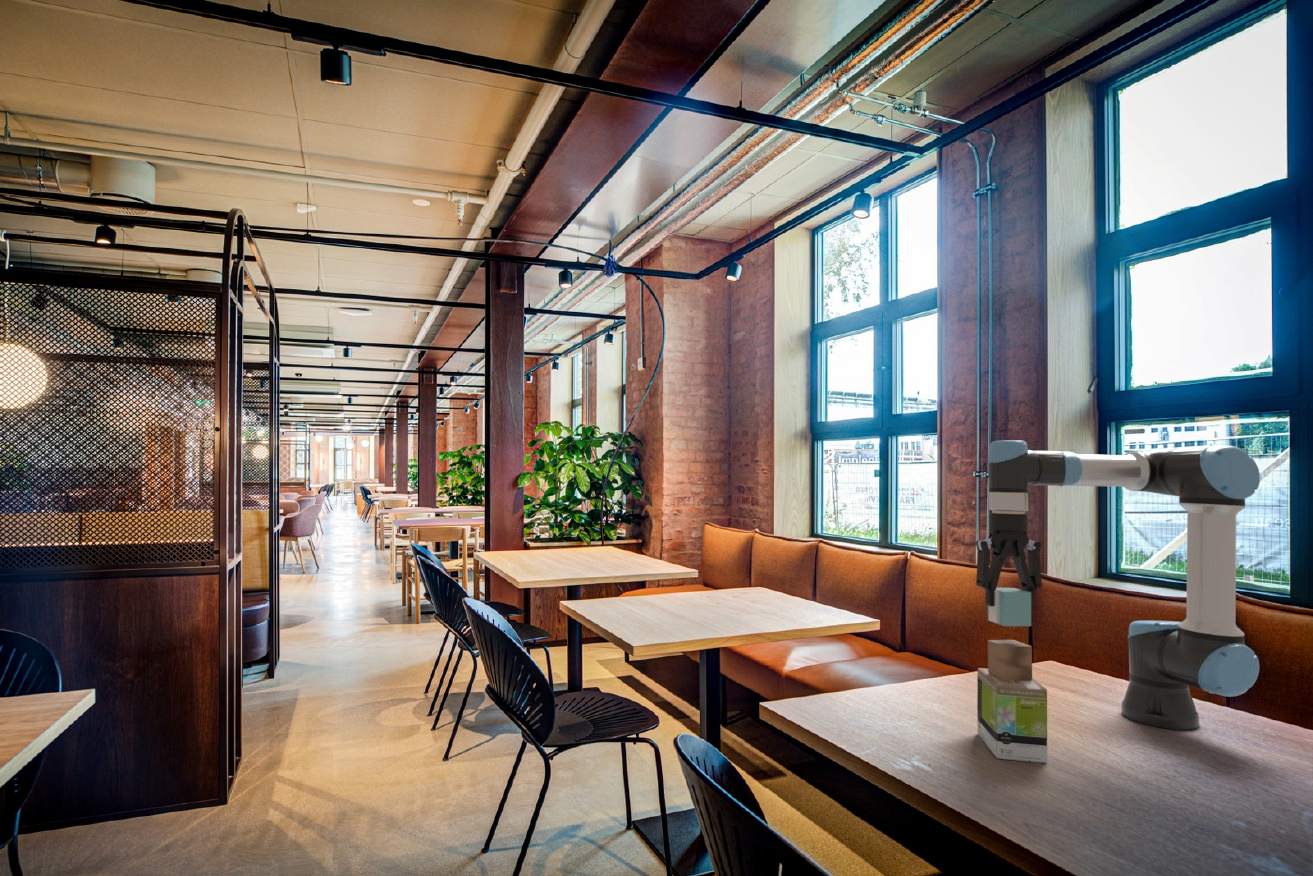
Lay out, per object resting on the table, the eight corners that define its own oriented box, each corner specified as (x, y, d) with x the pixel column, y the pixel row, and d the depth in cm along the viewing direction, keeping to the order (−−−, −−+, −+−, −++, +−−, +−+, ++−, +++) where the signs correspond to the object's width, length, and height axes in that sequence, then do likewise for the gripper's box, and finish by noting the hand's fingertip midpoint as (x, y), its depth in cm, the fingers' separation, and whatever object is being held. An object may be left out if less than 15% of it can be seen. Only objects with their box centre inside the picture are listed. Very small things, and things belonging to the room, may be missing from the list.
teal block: (1013, 620, 154) (1013, 587, 154) (1031, 626, 148) (1031, 592, 149) (987, 620, 153) (987, 587, 154) (1004, 626, 147) (1003, 592, 148)
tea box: (1049, 764, 141) (1048, 688, 142) (995, 760, 143) (994, 685, 144) (1024, 737, 156) (1023, 668, 157) (976, 733, 158) (975, 666, 158)
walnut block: (1014, 672, 153) (1013, 639, 154) (1032, 680, 147) (1031, 646, 148) (988, 673, 153) (987, 640, 153) (1005, 681, 147) (1005, 646, 147)
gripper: (1038, 512, 157) (1039, 618, 155) (956, 511, 155) (957, 618, 154) (1061, 513, 149) (1063, 625, 148) (975, 512, 147) (976, 625, 146)
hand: (1009, 621), depth 151 cm, fingers closed on teal block, 6 cm apart
